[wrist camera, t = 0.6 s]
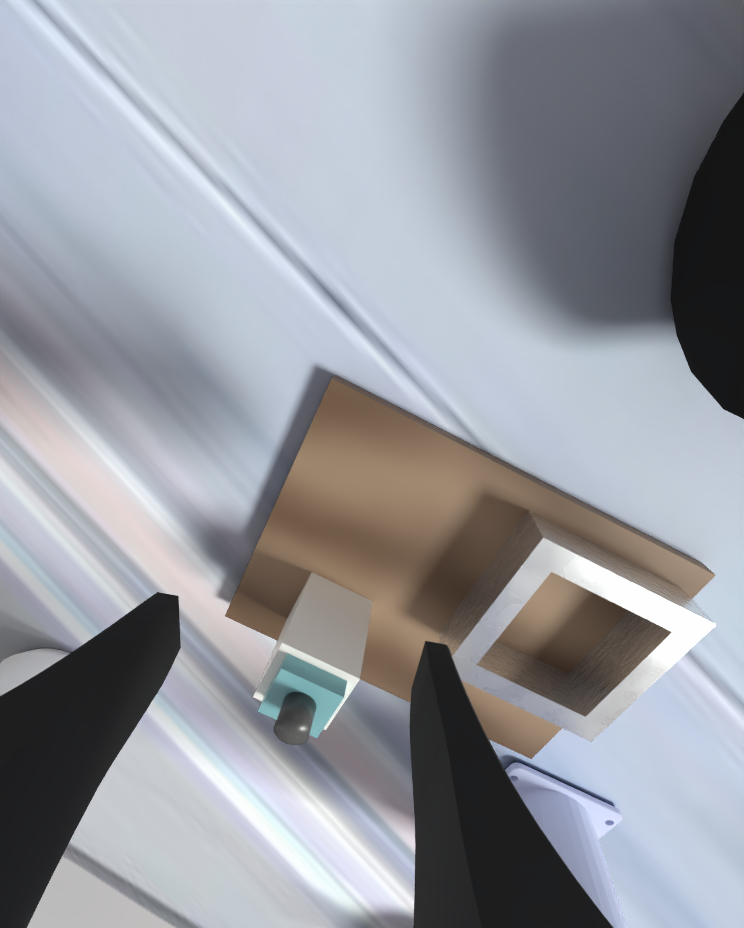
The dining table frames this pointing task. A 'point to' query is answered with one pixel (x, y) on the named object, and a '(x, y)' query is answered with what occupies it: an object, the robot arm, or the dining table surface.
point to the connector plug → (315, 660)
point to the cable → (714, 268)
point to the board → (430, 548)
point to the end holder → (607, 665)
